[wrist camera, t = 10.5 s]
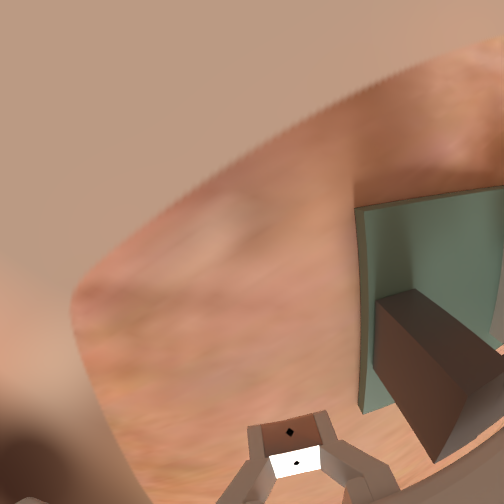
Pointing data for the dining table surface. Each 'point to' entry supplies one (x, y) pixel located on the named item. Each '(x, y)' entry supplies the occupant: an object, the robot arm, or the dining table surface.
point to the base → (432, 266)
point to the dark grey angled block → (436, 372)
